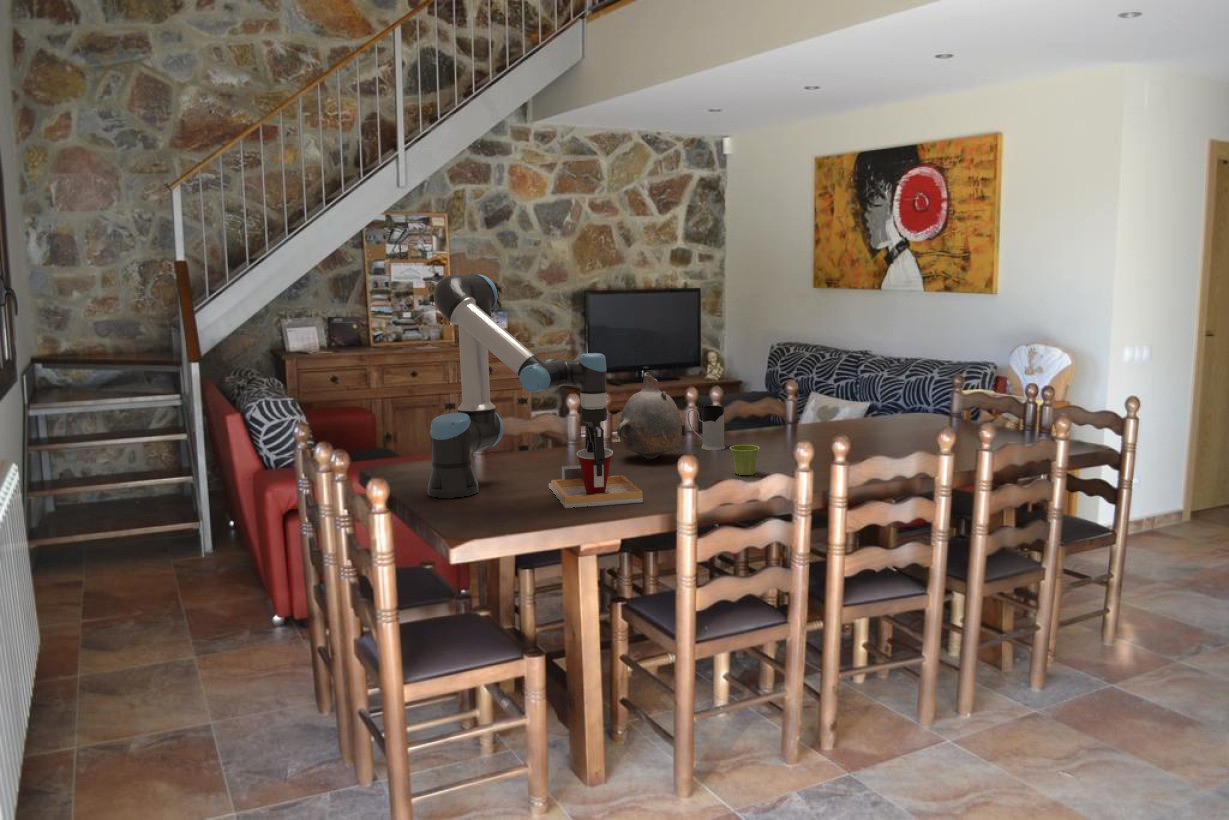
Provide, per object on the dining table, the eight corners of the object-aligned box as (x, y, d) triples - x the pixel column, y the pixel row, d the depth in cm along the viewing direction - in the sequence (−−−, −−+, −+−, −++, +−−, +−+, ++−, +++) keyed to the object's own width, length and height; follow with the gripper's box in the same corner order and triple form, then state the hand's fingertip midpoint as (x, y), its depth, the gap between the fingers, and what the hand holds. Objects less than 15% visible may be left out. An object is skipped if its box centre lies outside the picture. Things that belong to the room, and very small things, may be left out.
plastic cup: (573, 495, 291) (572, 454, 289) (581, 486, 301) (580, 447, 299) (610, 496, 289) (609, 455, 287) (616, 487, 299) (616, 448, 297)
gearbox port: (565, 508, 282) (564, 486, 281) (548, 487, 308) (548, 467, 307) (642, 502, 287) (642, 481, 286) (619, 482, 313) (619, 462, 312)
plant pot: (758, 477, 316) (758, 450, 315) (728, 477, 318) (728, 450, 316) (760, 471, 325) (760, 445, 324) (731, 470, 327) (731, 444, 326)
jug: (663, 468, 331) (662, 378, 327) (606, 463, 342) (605, 375, 337) (694, 455, 352) (694, 370, 348) (640, 450, 363) (639, 367, 358)
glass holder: (720, 450, 360) (720, 409, 358) (683, 448, 366) (683, 407, 364) (728, 446, 368) (728, 405, 366) (692, 444, 374) (691, 404, 372)
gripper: (615, 411, 281) (616, 490, 285) (598, 401, 302) (599, 474, 306) (589, 413, 280) (590, 492, 283) (573, 402, 301) (575, 476, 304)
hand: (595, 483), depth 294 cm, fingers closed on plastic cup, 9 cm apart
